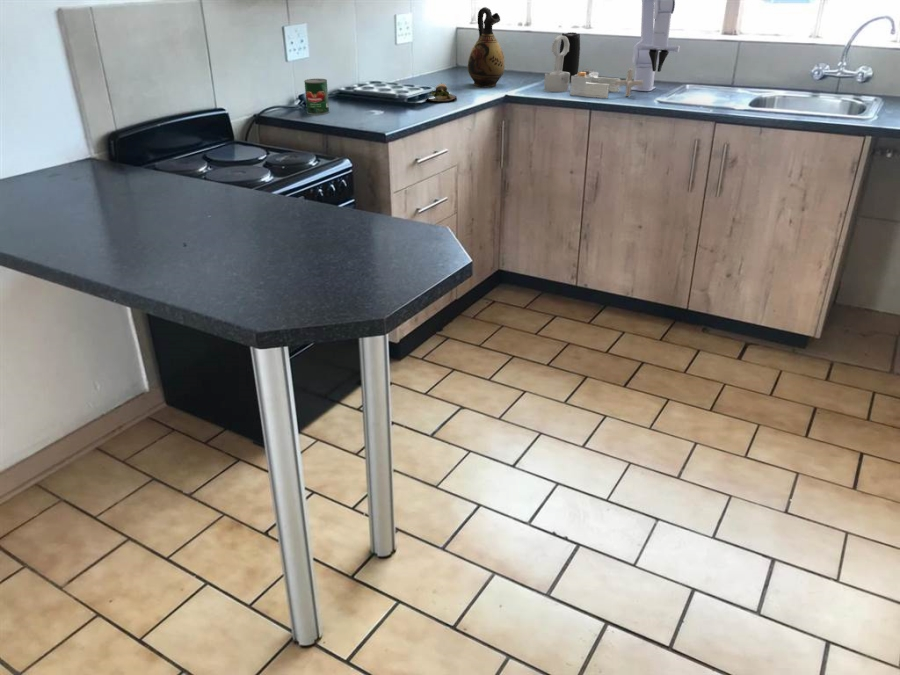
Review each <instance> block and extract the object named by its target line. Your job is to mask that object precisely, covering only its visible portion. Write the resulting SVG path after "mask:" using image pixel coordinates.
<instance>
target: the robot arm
mask: <svg viewBox="0 0 900 675" xmlns="http://www.w3.org/2000/svg"><path fill="white" fill-rule="evenodd" d="M675 7H676V0H641V23H640V24H641V26H640V28H641V29H640V30H641V31H640V41H638V42H636V44H634V46H633V49H632V50H633V51H632V59H631V60H632V61H631V62H632V65H633V66H635V69H634V70H635V71H634V77H633V78H634V79H633V80H638V81H643V85H633V86H632V87H631V91H641V92H651V91H653V90H654V89H656V86H654V82H655V74H656V70H657V72H658V73H659V72H661V71H662V68H663V67H662V66H663V65H664V62H665V61H666V58H667V57H668V55H669V53H670V52H671V53H672V52H673V53H674V52H675V53H679V52H680V47H681V46H680V45H674V44H673V45H671V44H669V36H670V30H671V29H670V28H671V21H672V14H674V11H675Z"/></svg>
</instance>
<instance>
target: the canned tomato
mask: <svg viewBox="0 0 900 675" xmlns="http://www.w3.org/2000/svg"><path fill="white" fill-rule="evenodd" d="M303 82H304V91H305V102H306V113H307V115H315V116H317V115H318V116H319V115H326V114H329V113H330V104H329V91H328V80H327V79H325V78H309V79H305V80H304V81H303Z"/></svg>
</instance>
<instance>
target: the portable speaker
mask: <svg viewBox="0 0 900 675" xmlns="http://www.w3.org/2000/svg"><path fill="white" fill-rule="evenodd" d="M561 36H566V37H567V38H568V40H569V43H570V45H569V52H567V54H566V55H565V56H564V59H563V68H562V71H563V72H569V73H570V81H571V76H573V75H576V74H578V72H579V66H580V53H581V34H580V33H577V32H567V33H563V32H562V33H561ZM559 46H560V47H559V54H560V53H561V52H562V51H563V49H564V41H563V39H561V40H560V45H559Z"/></svg>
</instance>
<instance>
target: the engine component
mask: <svg viewBox="0 0 900 675" xmlns="http://www.w3.org/2000/svg"><path fill="white" fill-rule="evenodd" d="M561 39H563V41H564V49H563V51H562V52H561V53H560V51H559V49H558V47H559V43H560V42H561ZM569 45H570V43H569V40H568V38H567V37H566V36H562V34H560V35H558V36H556V37H555V39H554V41H553V43H552V45H551V52H552V53H553V56H555V61H554V69H553V71H552V72H550V73H544V87H543V88H544V89H543V90H544V91H545V92H552V93H553V92H556V93H559V92H560V93H562V92H563V93H564V92H567V91H569V90H570V83H571V80H570V73H569V72H563V71H562V68H563V59H564V56H565V55H566V54H567V52H569Z"/></svg>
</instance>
